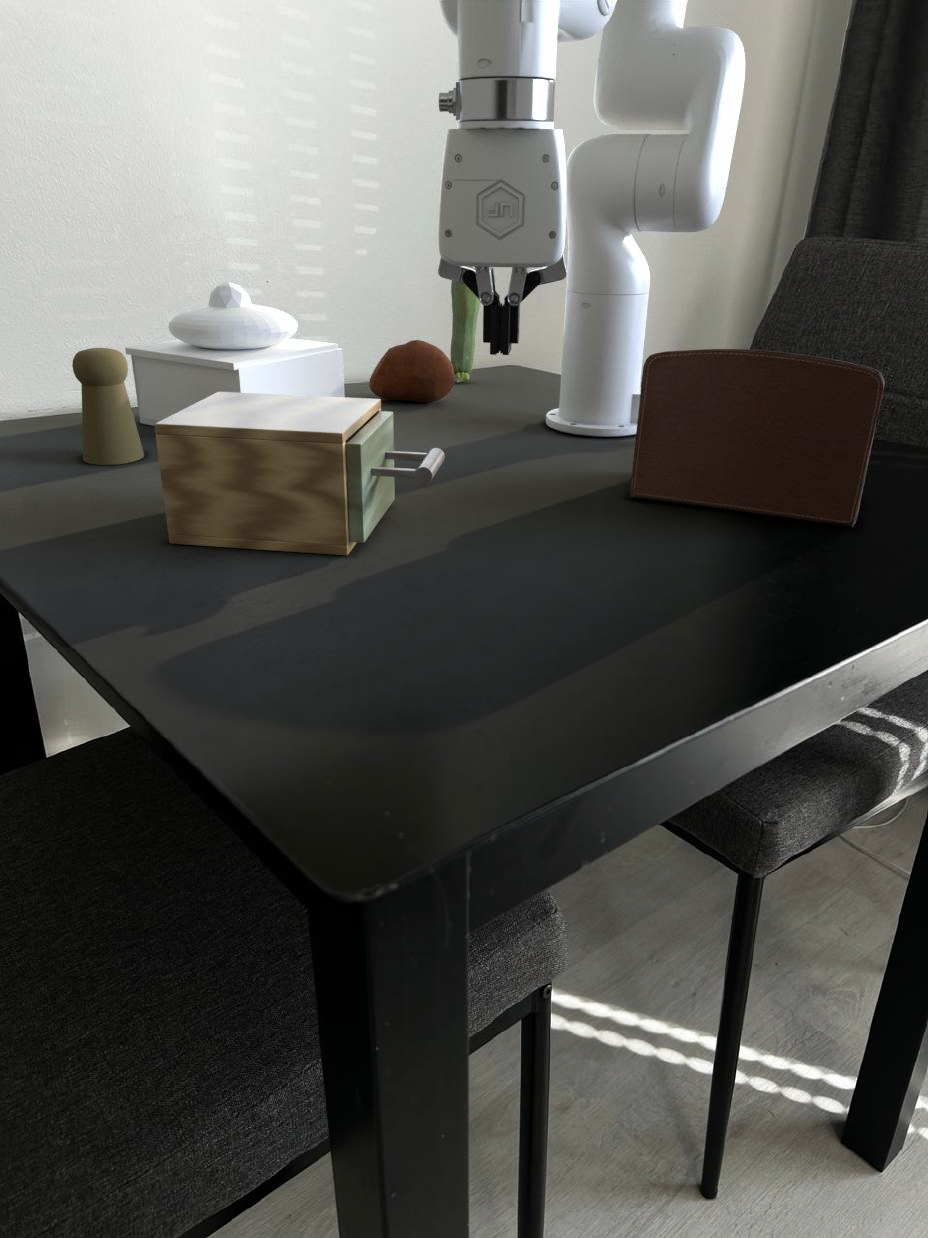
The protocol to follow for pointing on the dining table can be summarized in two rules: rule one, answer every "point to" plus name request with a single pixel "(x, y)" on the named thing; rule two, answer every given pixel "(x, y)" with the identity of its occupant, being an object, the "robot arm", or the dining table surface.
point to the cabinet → (260, 471)
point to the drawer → (379, 473)
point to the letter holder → (756, 432)
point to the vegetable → (463, 329)
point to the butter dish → (231, 357)
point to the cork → (106, 408)
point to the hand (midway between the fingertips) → (500, 351)
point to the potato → (413, 373)
